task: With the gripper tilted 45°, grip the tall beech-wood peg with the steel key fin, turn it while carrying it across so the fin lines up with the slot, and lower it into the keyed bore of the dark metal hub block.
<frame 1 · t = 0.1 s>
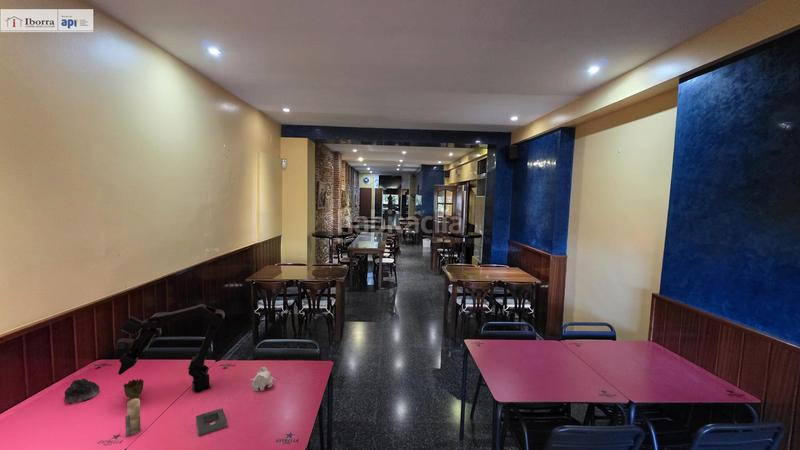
hand: (122, 369, 159), 15 cm above the table, tool tilted 35°, fingers open, 9 cm apart
dark grey rock: (82, 397, 163), on the table
elephant figurine: (262, 388, 173), on the table
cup: (134, 399, 162), on the table
keyed peg: (134, 431, 140), on the table
hub block: (211, 424, 144), on the table
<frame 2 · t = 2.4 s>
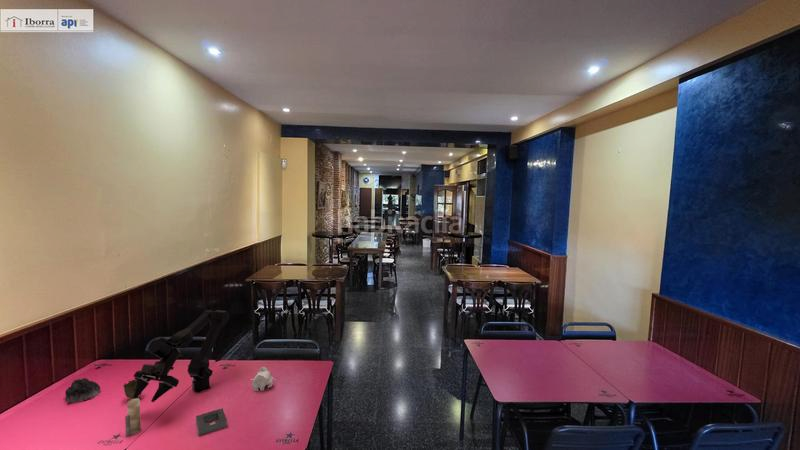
hand: (143, 400, 143), 11 cm above the table, tool tilted 45°, fingers open, 9 cm apart
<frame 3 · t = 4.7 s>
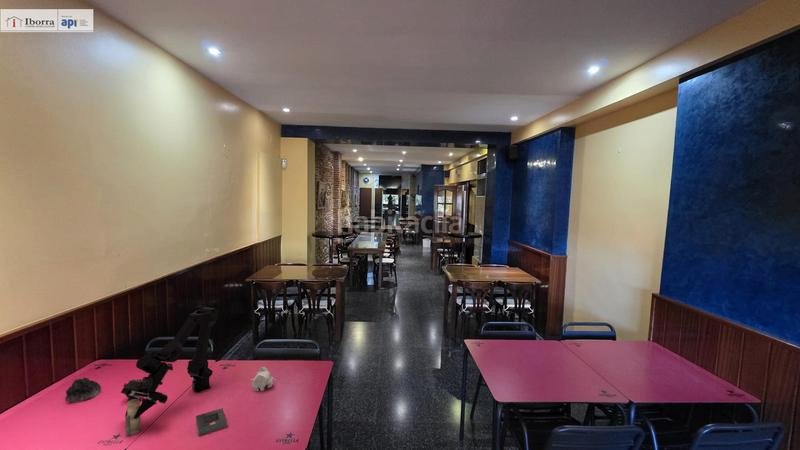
hand: (130, 417, 138), 7 cm above the table, tool tilted 45°, fingers closed on keyed peg, 4 cm apart
keyed peg: (134, 431, 140), on the table, touching gripper
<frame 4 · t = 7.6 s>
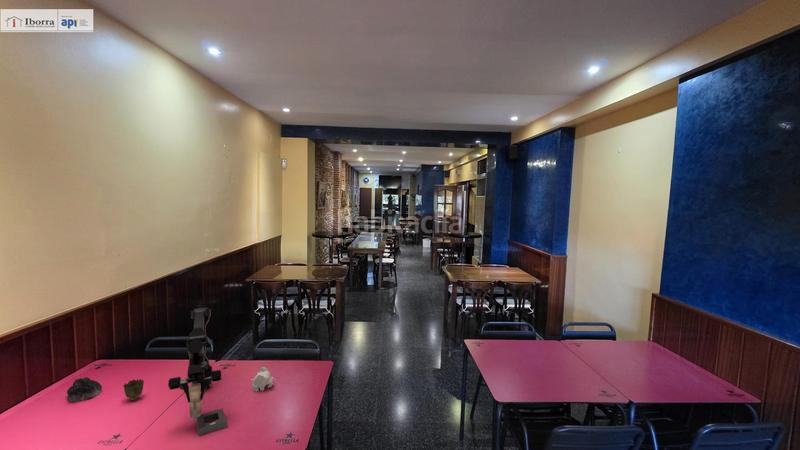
hand: (195, 401, 140), 12 cm above the table, tool tilted 45°, fingers closed on keyed peg, 4 cm apart
keyed peg: (195, 415, 141), point 6 cm above the table, touching gripper
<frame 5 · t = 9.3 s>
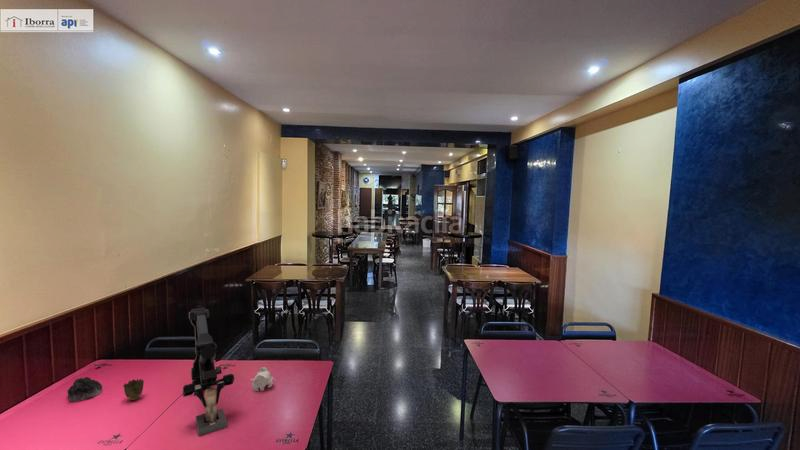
hand: (211, 405, 143), 9 cm above the table, tool tilted 45°, fingers closed on keyed peg, 4 cm apart
keyed peg: (211, 419, 144), point 2 cm above the table, touching gripper
when the fingers open (8 cm above the table, at t = 10.4 s): keyed peg drops 1 cm, resting in hub block.
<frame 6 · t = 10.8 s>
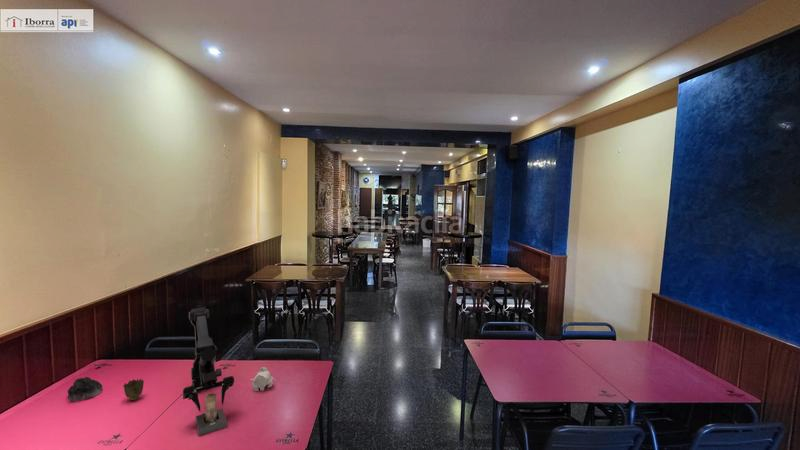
hand: (211, 407, 143), 8 cm above the table, tool tilted 45°, fingers open, 8 cm apart
keyed peg: (211, 424, 144), resting in hub block
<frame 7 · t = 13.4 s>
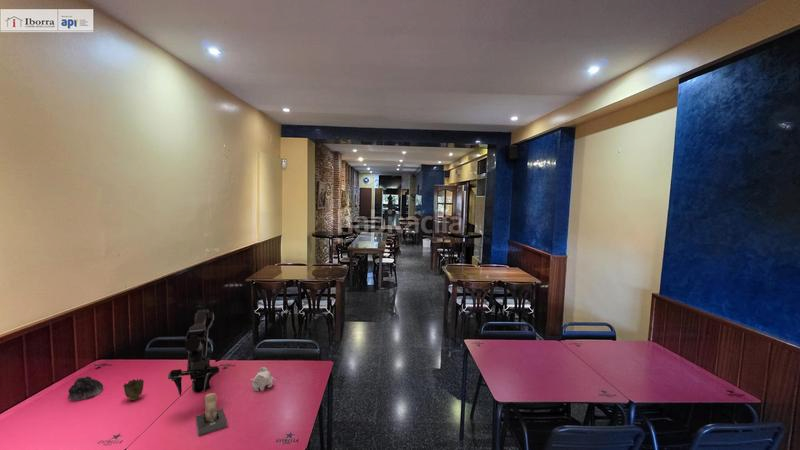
hand: (192, 393, 150), 10 cm above the table, tool tilted 35°, fingers open, 9 cm apart
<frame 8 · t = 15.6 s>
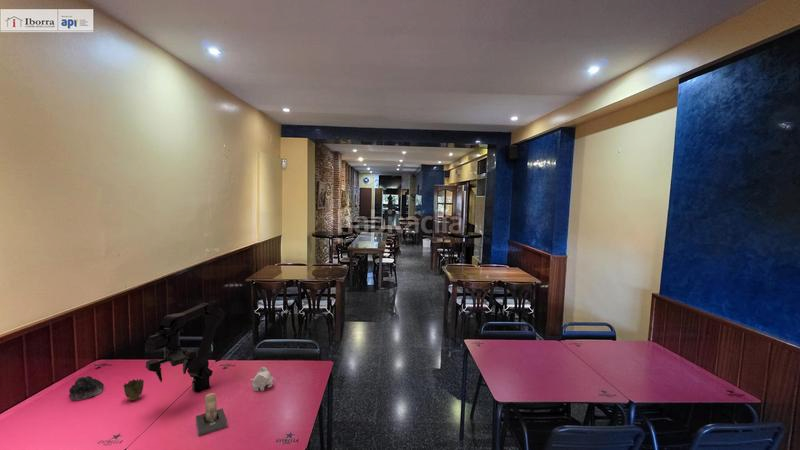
hand: (172, 377, 156), 13 cm above the table, tool pointing down, fingers open, 9 cm apart
at the end: keyed peg 0.0 cm from the hub block (horizontally); keyed peg resting in hub block; keyed peg tilted 0° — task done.
